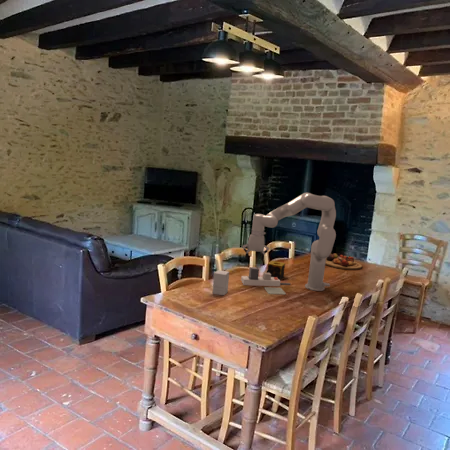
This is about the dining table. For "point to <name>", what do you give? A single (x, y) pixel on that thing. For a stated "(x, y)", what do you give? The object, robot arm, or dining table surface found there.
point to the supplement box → (220, 282)
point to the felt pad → (274, 290)
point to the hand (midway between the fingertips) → (254, 259)
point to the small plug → (267, 276)
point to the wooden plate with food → (342, 262)
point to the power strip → (262, 281)
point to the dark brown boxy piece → (276, 269)
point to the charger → (253, 273)
